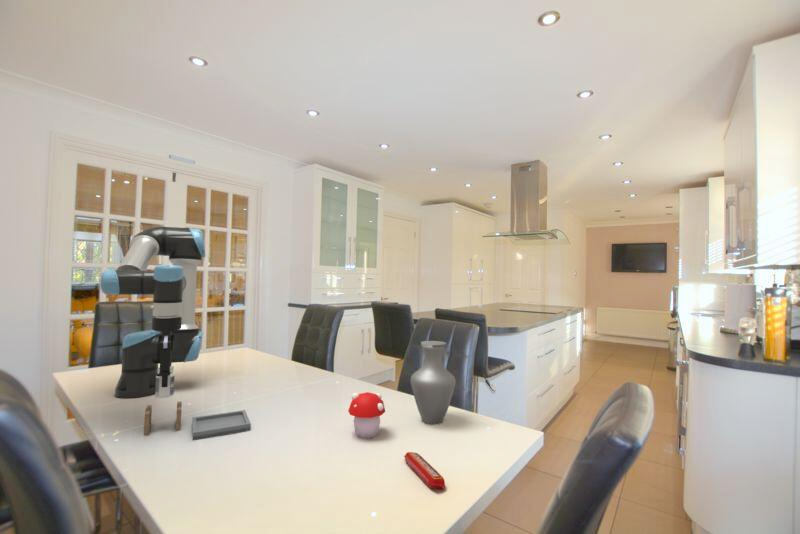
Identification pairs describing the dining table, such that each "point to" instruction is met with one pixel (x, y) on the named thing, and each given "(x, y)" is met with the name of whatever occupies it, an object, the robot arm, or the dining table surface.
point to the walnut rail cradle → (149, 415)
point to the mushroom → (366, 413)
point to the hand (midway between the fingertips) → (164, 394)
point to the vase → (433, 384)
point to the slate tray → (220, 424)
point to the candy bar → (425, 470)
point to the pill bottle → (170, 383)
